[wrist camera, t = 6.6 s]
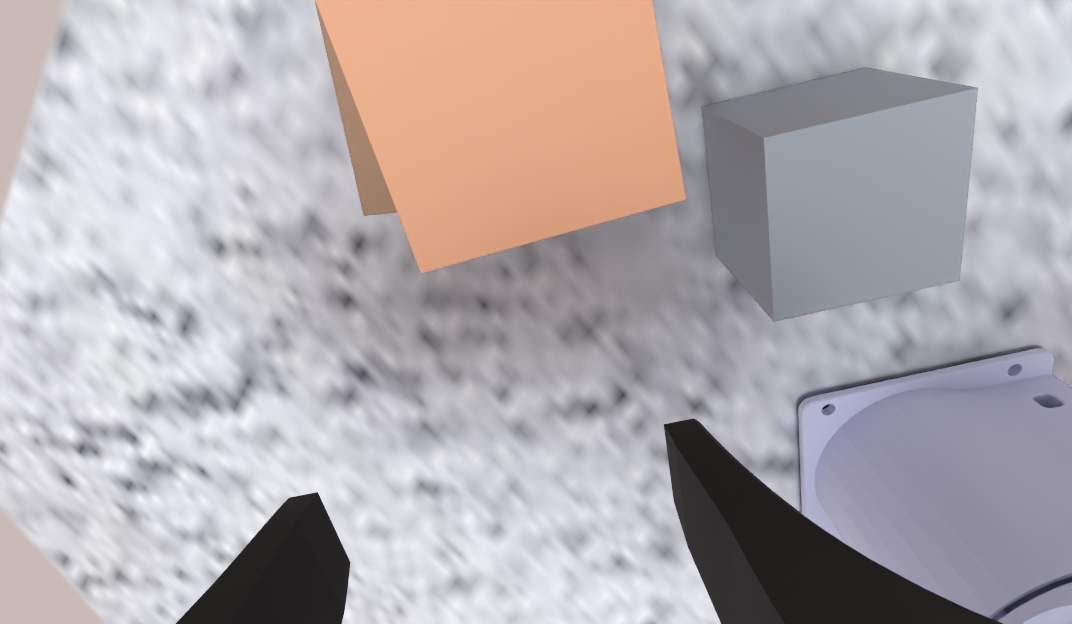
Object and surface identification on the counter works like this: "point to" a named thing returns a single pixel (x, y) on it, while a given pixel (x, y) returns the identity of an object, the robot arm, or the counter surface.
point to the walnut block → (358, 141)
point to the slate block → (840, 188)
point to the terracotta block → (509, 116)
